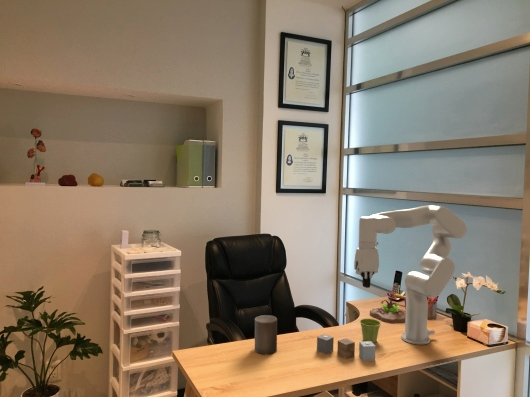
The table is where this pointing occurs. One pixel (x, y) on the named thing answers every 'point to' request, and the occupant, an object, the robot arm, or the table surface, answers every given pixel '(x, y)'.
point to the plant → (389, 313)
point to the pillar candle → (265, 334)
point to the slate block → (367, 350)
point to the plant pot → (370, 329)
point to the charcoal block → (325, 343)
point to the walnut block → (346, 348)
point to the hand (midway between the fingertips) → (366, 286)
